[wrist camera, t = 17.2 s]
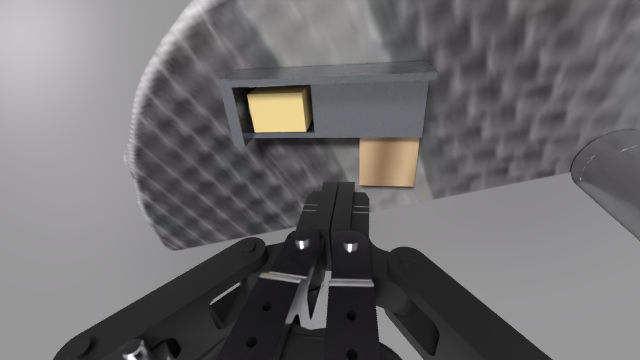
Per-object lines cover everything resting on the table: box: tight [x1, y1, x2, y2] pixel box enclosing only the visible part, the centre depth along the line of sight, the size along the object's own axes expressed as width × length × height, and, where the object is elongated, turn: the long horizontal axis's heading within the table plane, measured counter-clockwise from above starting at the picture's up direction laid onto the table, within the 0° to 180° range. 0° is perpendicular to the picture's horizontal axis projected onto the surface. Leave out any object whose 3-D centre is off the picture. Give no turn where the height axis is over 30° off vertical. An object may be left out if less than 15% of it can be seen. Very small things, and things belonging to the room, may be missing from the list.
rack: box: [218, 61, 438, 147], centre depth 36 cm, size 24×9×7 cm, turn 94°
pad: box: [360, 137, 420, 187], centre depth 41 cm, size 8×8×2 cm
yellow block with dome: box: [247, 85, 313, 132], centre depth 38 cm, size 5×5×8 cm
